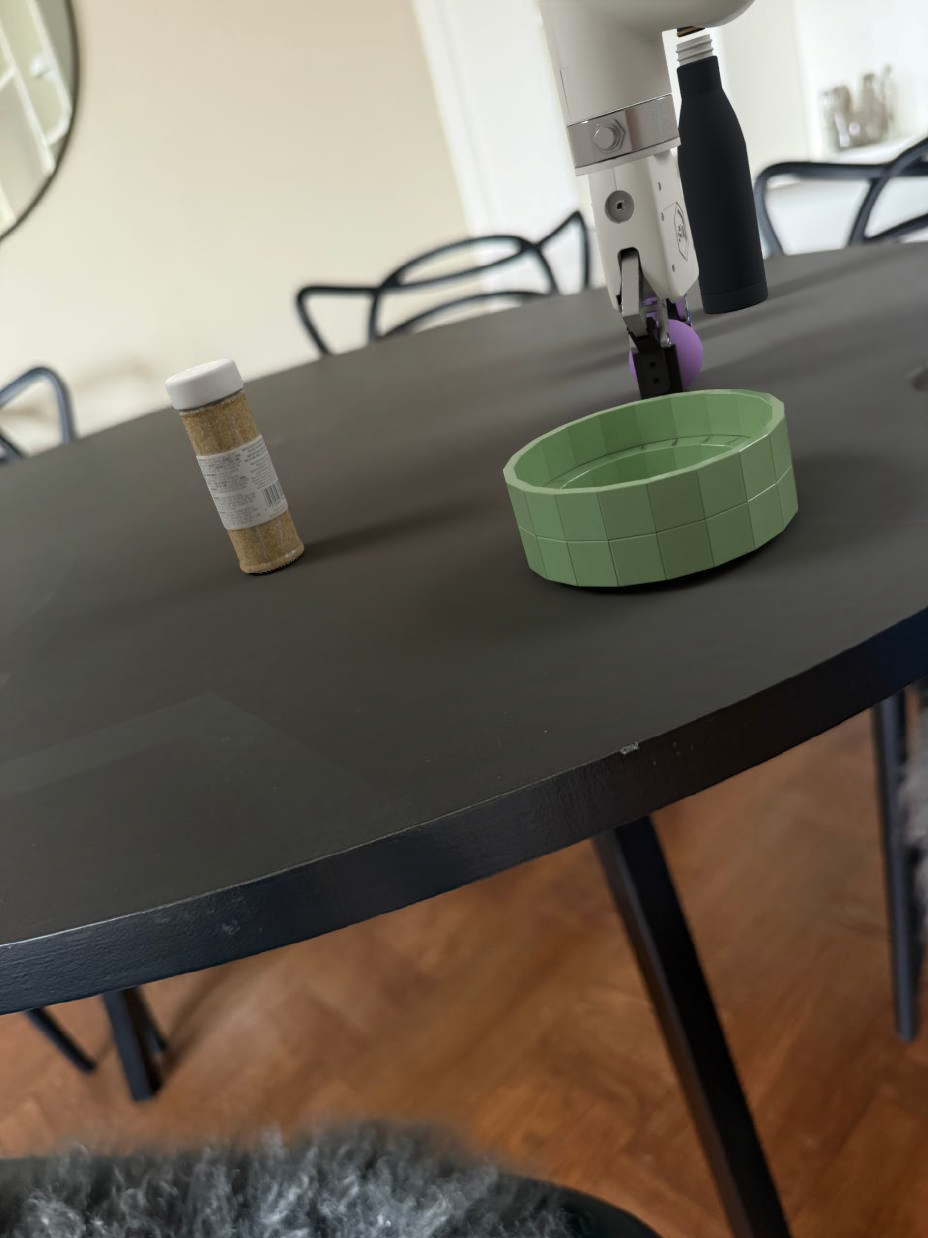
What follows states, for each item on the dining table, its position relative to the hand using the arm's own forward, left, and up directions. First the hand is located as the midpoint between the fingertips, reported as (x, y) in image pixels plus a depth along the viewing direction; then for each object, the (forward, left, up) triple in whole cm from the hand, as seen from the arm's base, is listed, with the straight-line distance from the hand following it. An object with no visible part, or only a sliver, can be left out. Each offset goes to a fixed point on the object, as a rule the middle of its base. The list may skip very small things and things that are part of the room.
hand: (671, 385), depth 77 cm
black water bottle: (-26, -14, -1) cm, 30 cm away
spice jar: (+33, -7, -1) cm, 34 cm away
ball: (0, 0, +2) cm, 2 cm away
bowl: (+22, +18, 0) cm, 28 cm away
